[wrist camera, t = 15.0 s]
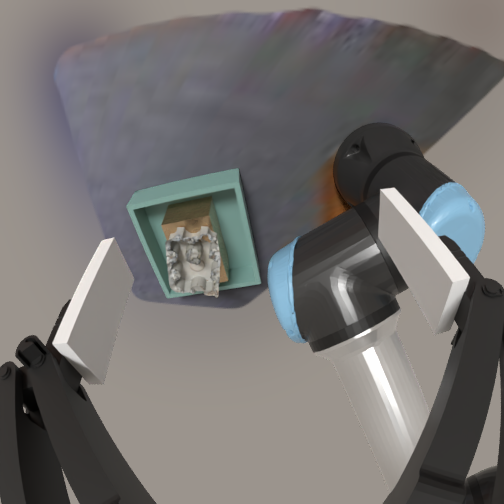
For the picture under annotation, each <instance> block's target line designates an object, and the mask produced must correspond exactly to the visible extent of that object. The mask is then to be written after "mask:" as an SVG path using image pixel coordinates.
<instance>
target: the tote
mask: <svg viewBox="0 0 504 504" xmlns="http://www.w3.org/2000/svg"><path fill="white" fill-rule="evenodd" d="M209 196H212V199H213V203H214V206H215V210H216V214H217V218H218V221H219V225H220V229H221V232H222V236H223V240H224V243H225V247H226V250H227V254H228V258H229V266H228V281H226V282H220V283H219V291H220V290H226V289H232V288H239V287H245V286H251V285H257V284H261V278H260V269H259V263H258V258H257V253H256V248H255V244H254V239H253V234H252V229H251V225H250V220H249V215H248V210H247V206H246V201H245V196H244V191H243V187H242V182H241V177H240V173H239V168H237V169H232V170H227V171H222V172H217V173H212V174H207V175H202V176H198V177H193V178H188V179H184V180H180V181H175V182H171V183H167V184H163V185H158V186H154V187H150V188H146V189H142V190H138V191H135V193H134V194H133V196H132V198H131V199H130V201H129V203H128V204H127V206H126V207H127V209H128V212H129V214H130V217H131V219H132V221H133V224H134V226H135V229H136V231H137V233H138V236H139V238H140V240H141V243H142V245H143V247H144V250H145V252H146V254H147V256H148V259H149V261H150V263H151V265H152V267H153V270H154V272H155V274H156V276H157V278H158V280H159V282H160V285H161V287H162V289H163V291H164V293H165V295H166V297H167V298H174V297H180V296H187V295H194V294H200V293H204V292H203V291H196V292H195V293H194V294H192V293H189V292H186V293H184V294H183V293H180V292H175V291H173V290H172V289H171V288H170V285H169V277H168V267H167V256H166V247H165V242H166V241H167V240H166V237H165V234H164V232H163V229H162V226H161V224H162V221H163V219H164V216H165V213H166V210H167V208H168V205H171V204H176V203H181V202H185V201H190V200H195V199H200V198H204V197H209Z"/></svg>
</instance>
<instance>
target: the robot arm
mask: <svg viewBox="0 0 504 504" xmlns="http://www.w3.org/2000/svg"><path fill="white" fill-rule="evenodd" d="M333 174H334V181H335V184H336V187H337V189H338V191H339V192H340V194H341V195H342V197H343V199H344V200H345V201H346V202H347V203H348V204H349V205H350V206H351V207H352V208H351V209H349V210H347V211H345V212H344V213H342V214H340V215H338V216H337V217H335V218H333V219H331V220H330V221H328V222H326V223H324V224H323V225H321V226H319V227H317V228H316V229H314V230H312V231H310V232H309V233H307V234H305V235H303V236H298V237H296V238H295V239H294V241H293V242H291V243H290V244H288V245H287V246H285V247H284V248H282V249H280V250H279V251H277V252H276V253H275V254H274V255H273V256H272V258H271V260H270V262H269V266H268V287H269V292H270V297H271V300H272V304H273V307H274V310H275V312H276V315H277V318H278V320H279V322H280V324H281V326H282V328H283V329H284V330H286V332H287V335H288V337H290V339H291V340H292V341H294V342H296V343H306V342H309V344H310V347H311V349H312V351H313V353H314V354H315V355H317V356H319V357H322V358H326V359H328V360H330V361H331V362H332V363H333V366H334V368H335V370H336V372H337V374H338V377H339V379H340V381H341V383H342V385H343V388H344V389H345V392H346V394H347V396H348V399H349V401H350V403H351V405H352V408H353V410H354V412H355V414H356V417H357V419H358V421H359V423H360V426H361V428H362V430H363V432H364V435H365V437H366V439H367V442H368V444H369V446H370V448H371V451H372V453H373V455H374V458H375V460H376V462H377V464H378V467H379V469H380V471H381V474H382V476H383V479H384V481H385V483H386V486H387V488H388V491H389V493H390V494H389V496H388V497H387V498H386V500H385V501H384V503H383V504H504V289H503V287H502V285H500V284H499V283H498V282H497V281H495V280H492V279H488V278H484V277H483V276H482V275H481V273H480V272H479V271H478V269H477V268H476V267H475V266H474V262H475V260H476V259H477V255H478V253H479V251H480V249H481V247H482V243H483V240H484V233H485V223H484V217H483V213H482V211H481V209H480V207H479V205H478V204H477V202H476V201H475V200H474V199H473V198H472V197H471V196H470V195H469V194H468V193H467V191H466V190H465V189H464V188H463V187H462V186H461V185H460V184H458V183H456V182H455V181H453V180H452V179H450V177H448V176H447V175H446V174H444V173H443V172H442V171H440V170H439V169H438V168H436V167H435V166H434V165H432V164H431V163H430V162H428V161H427V160H426V159H425V158H424V156H423V154H422V152H421V151H420V148H419V147H418V145H417V143H416V142H415V140H414V139H413V138H412V137H411V136H410V135H409V134H407V133H406V132H405V131H403V130H401V129H400V128H398V127H396V126H394V125H391V124H387V123H372V124H368V125H365V126H362V127H360V128H358V129H357V130H355V131H354V132H352V133H351V134H350V135H349V136H348V137H347V138H346V139H345V140H344V142H343V143H342V144H341V146H340V148H339V150H338V152H337V154H336V157H335V161H334V168H333ZM133 282H134V277H133V275H132V273H131V271H130V269H129V267H128V265H127V263H126V261H125V259H124V257H123V255H122V253H121V251H120V249H119V247H118V245H117V242H116V240H115V238H110V239H106V240H102V241H101V243H100V245H99V246H98V248H97V250H96V252H95V254H94V256H93V258H92V260H91V261H90V263H89V265H88V267H87V270H86V271H85V273H84V275H83V277H82V279H81V281H80V283H79V285H78V287H77V290H76V291H75V293H74V296H73V298H72V299H71V300H69V301H68V302H67V303H66V304H65V305H64V307H63V308H62V310H61V312H60V314H59V318H58V319H57V321H56V323H55V326H54V327H53V330H52V332H51V334H50V337H49V339H48V341H47V344H46V346H45V345H44V344H43V343H42V342H41V341H40V340H39V339H38V337H37V336H34V335H31V336H28V337H26V338H25V339H24V340H22V341H21V342H20V344H19V345H18V347H17V349H16V355H15V356H16V358H18V359H19V361H20V362H21V363H22V364H23V365H24V366H23V367H20V368H18V367H17V366H16V365H15V364H14V363H13V362H10V361H9V362H6V363H5V364H3V365H2V366H1V367H0V497H1V503H2V504H70V500H69V497H68V493H67V489H66V485H65V481H64V477H63V472H62V469H63V471H64V473H65V475H66V477H67V480H68V482H69V484H70V486H71V488H72V490H73V492H74V493H75V496H76V498H77V499H78V501H79V503H80V504H156V502H155V501H154V500H153V499H152V497H151V496H150V495H149V493H148V492H147V491H146V489H145V488H144V487H143V485H142V484H141V482H140V481H139V480H138V478H137V477H136V475H135V474H134V472H133V471H132V470H131V468H130V467H129V465H128V464H127V462H126V461H125V459H124V458H123V456H122V454H121V453H120V451H119V450H118V448H117V447H116V445H115V443H114V442H113V440H112V438H111V437H110V435H109V433H108V432H107V430H106V428H105V426H104V425H103V423H102V421H101V419H100V417H99V416H98V414H97V412H96V410H95V408H94V406H93V404H92V402H91V401H90V399H89V397H88V395H87V393H86V391H85V389H84V387H83V386H82V385H81V384H80V381H81V378H82V377H83V378H84V379H85V380H86V381H87V382H88V383H89V384H104V381H105V377H106V373H107V369H108V365H109V361H110V358H111V354H112V351H113V347H114V343H115V340H116V336H117V333H118V329H119V326H120V322H121V319H122V316H123V313H124V309H125V306H126V303H127V300H128V297H129V294H130V291H131V288H132V285H133ZM408 288H409V289H410V291H411V293H412V294H413V296H414V298H415V299H416V301H417V303H418V305H419V307H420V309H421V311H422V313H423V314H424V316H425V318H426V320H427V322H428V324H429V326H430V328H431V330H432V332H433V334H434V335H436V334H439V333H443V332H446V331H449V330H450V329H451V326H452V324H453V322H454V320H455V322H456V323H457V325H458V330H457V332H456V334H455V336H454V338H453V340H452V342H451V344H452V345H453V346H452V350H451V354H450V357H449V360H448V364H447V367H446V370H445V373H444V376H443V380H442V382H441V386H440V388H439V391H438V394H437V396H436V399H435V402H434V404H433V407H432V410H431V412H430V411H429V409H428V406H427V403H426V401H425V398H424V395H423V393H422V390H421V387H420V385H419V382H418V380H417V378H416V375H415V372H414V370H413V368H412V365H411V363H410V360H409V358H408V356H407V353H406V351H405V349H404V346H403V344H402V342H401V340H400V337H399V335H398V333H397V331H396V325H397V322H398V319H399V316H400V313H401V309H400V307H399V305H398V302H397V300H396V298H395V296H396V295H397V294H399V293H401V292H403V291H404V290H406V289H408ZM498 361H500V377H501V427H500V444H499V455H498V464H497V466H494V467H490V468H487V469H485V470H482V471H480V472H478V473H476V474H474V475H472V476H470V477H468V478H466V476H467V474H468V471H469V469H470V466H471V463H472V461H473V458H474V455H475V452H476V449H477V446H478V443H479V440H480V437H481V434H482V431H483V427H484V424H485V420H486V417H487V413H488V409H489V405H490V401H491V397H492V392H493V388H494V383H495V378H496V373H497V367H498ZM23 406H24V407H25V408H26V413H24V410H23ZM61 467H62V468H61Z"/></svg>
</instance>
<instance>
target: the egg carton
mask: <svg viewBox="0 0 504 504" xmlns="http://www.w3.org/2000/svg"><path fill="white" fill-rule="evenodd" d="M203 235H204V236H207V235H208V237H209V240H210V241H211V242H210V243H209V242H208V241H206V240H204V239H202V237H203ZM217 237H218V235H217V233H215V232H212V231H211V230H210V228H209V227H208V226H201V229H200V231H199V232H197V233H190V232H188V231H187V230H186V229H185V227H177V231H176V232H175V233H173V234H170V237H169V240H167V241H166V242H165V247H166V256H167V267H168V277H169V285H170V288H171V289H172V290H173V291H175V292H180V293H183V294H184V293H186V292H189V293H192V294H194V293H195V292H196V291H203V292H204V295H207V296H216V298H218V295H219V293H218V292H219V282H220V262H221V258H220V251H219V246H218V238H217ZM199 239H200V240H201V241H203V242H200V241H199ZM207 280H208V281H207Z"/></svg>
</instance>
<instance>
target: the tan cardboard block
mask: <svg viewBox="0 0 504 504" xmlns="http://www.w3.org/2000/svg"><path fill="white" fill-rule="evenodd" d="M161 226H162V229H163V232H164V234H165V237H166V240H169V237H170V234H173V233H175V232H176V231H177V227H185V229H186V230H187V231H188V232H190V233H197V232H199V231H200V229H201V226H208V227H209V228H210V230H211V231H212V232H215V233H217V235H218V237H217V238H218V246H219V251H220V258H221V262H220V282H226V281H228V266H229V258H228V254H227V250H226V247H225V243H224V240H223V236H222V232H221V229H220V225H219V221H218V218H217V214H216V210H215V206H214V203H213V199H212V196H209V197H204V198H200V199H195V200H190V201H185V202H181V203H176V204H171V205H168V208H167V210H166V213H165V216H164V219H163V221H162V224H161ZM202 239H204V240H206V241H208V242H209V243H210V242H211V241H210V240H209V237H208V235H207V236H204V235H203V237H202ZM199 241H200V242H203V241H201V240H200V239H199ZM207 281H208V280H207ZM220 282H219V283H220Z"/></svg>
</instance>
